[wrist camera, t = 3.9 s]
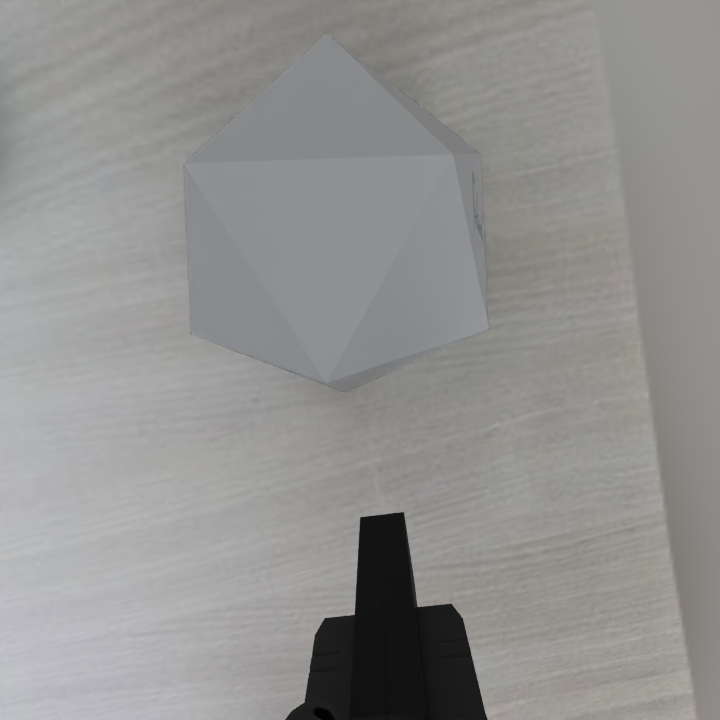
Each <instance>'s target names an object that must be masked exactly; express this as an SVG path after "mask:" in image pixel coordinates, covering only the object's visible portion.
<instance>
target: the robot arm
mask: <svg viewBox="0 0 720 720" xmlns="http://www.w3.org/2000/svg"><path fill="white" fill-rule="evenodd" d="M285 720H487V717H486V714H485V710H484V706H483V702H482V697H481V693H480V689H479V685H478V681H477V677H476V672H475V668H474V664H473V660H472V656H471V651H470V647H469V643H468V639H467V635H466V630H465V626H464V622H463V618H462V617H461V616H460V614H459V613H458V612H457V611H456V609H455V608H454V607H453V605H452V604H445V605H435V606H425V607H417V600H416V592H415V583H414V576H413V569H412V563H411V556H410V550H409V543H408V537H407V530H406V523H405V517H404V512H401V513H393V514H385V515H376V516H368V517H360V532H359V550H358V568H357V586H356V604H355V615H351V616H342V617H332V618H325V619H324V621H323V622H322V624H321V626H320V628H319V629H318V631H317V633H316V634H315V639H314V646H313V652H312V659H311V665H310V673H309V678H308V684H307V691H306V697H305V703H303V704H302V705H300V706H299V707H297V708H296V709H294V710H293V711H292V712H291V713H290V714H289V715H288V717H287V718H286V719H285Z"/></svg>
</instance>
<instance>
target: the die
mask: <svg viewBox="0 0 720 720" xmlns="http://www.w3.org/2000/svg"><path fill="white" fill-rule="evenodd" d="M184 182H185V207H186V232H187V256H188V281H189V305H190V330H191V334H192V335H195V336H197V337H200V338H203V339H205V340H208V341H210V342H213V343H216V344H218V345H221V346H224V347H226V348H229V349H231V350H234V351H237V352H239V353H242V354H245V355H247V356H250V357H253V358H255V359H258V360H260V361H263V362H266V363H268V364H271V365H274V366H276V367H279V368H281V369H284V370H287V371H289V372H292V373H295V374H297V375H300V376H303V377H305V378H308V379H310V380H313V381H316V382H318V383H321V384H324V385H326V386H329V387H331V388H334V389H337V390H339V391H342V392H347V391H350V390H352V389H354V388H356V387H359V386H361V385H363V384H365V383H368V382H370V381H372V380H375V379H377V378H379V377H381V376H384V375H386V374H388V373H390V372H393V371H395V370H397V369H400V368H402V367H404V366H406V365H409V364H411V363H413V362H415V361H418V360H420V359H422V358H424V357H427V356H429V355H431V354H434V353H436V352H438V351H440V350H443V349H445V348H447V347H449V346H452V345H454V344H456V343H458V342H461V341H463V340H465V339H468V338H470V337H472V336H474V335H477V334H479V333H481V332H483V331H486V330H488V329H489V328H488V305H487V282H486V259H485V236H484V212H483V189H482V166H481V153H480V152H478V151H477V150H476V149H474V148H473V147H472V146H471V145H469V144H468V143H467V142H466V141H464V140H463V139H462V138H460V137H459V136H458V135H457V134H455V133H454V132H453V131H451V130H450V129H449V128H448V127H446V126H445V125H444V124H443V123H441V122H440V121H439V120H437V119H436V118H435V117H434V116H432V115H431V114H430V113H428V112H427V111H426V110H425V109H423V108H422V107H421V106H420V105H418V104H417V103H416V102H414V101H413V100H412V99H411V98H409V97H408V96H407V95H405V94H404V93H403V92H402V91H400V90H399V89H398V88H396V87H395V86H394V85H393V84H391V83H390V82H389V81H388V80H386V79H385V78H384V77H382V76H381V75H380V74H379V73H377V72H376V71H375V70H373V69H372V68H371V67H370V66H368V65H367V64H366V63H365V62H363V61H362V60H361V59H359V58H358V57H357V56H356V55H354V54H353V53H352V52H350V51H349V50H348V49H347V48H345V47H344V46H343V45H341V44H340V43H339V42H338V41H336V40H335V39H334V38H333V37H331V36H330V35H329V34H327V33H326V34H325V35H324V36H323V37H322V38H321V39H319V40H318V41H317V42H316V43H315V44H314V45H313V46H312V47H311V48H310V49H308V50H307V51H306V52H305V53H304V54H303V55H302V56H301V57H300V58H299V59H297V60H296V61H295V62H294V63H293V64H292V65H291V66H290V67H289V68H288V69H287V70H285V71H284V72H283V73H282V74H281V75H280V76H279V77H278V78H277V79H276V80H274V81H273V82H272V83H271V84H270V85H269V86H268V87H267V88H266V89H265V90H263V91H262V92H261V93H260V94H259V95H258V96H257V97H256V98H255V99H254V100H253V101H251V102H250V103H249V104H248V105H247V106H246V107H245V108H244V109H243V110H242V111H240V112H239V113H238V114H237V115H236V116H235V117H234V118H233V119H232V120H231V121H229V122H228V123H227V124H226V125H225V126H224V127H223V128H222V129H221V130H220V131H219V132H217V133H216V134H215V135H214V136H213V137H212V138H211V139H210V140H209V141H208V142H206V143H205V144H204V145H203V146H202V147H201V148H200V149H199V150H198V151H197V152H195V153H194V154H193V155H192V156H191V157H190V158H189V159H188V160H187V161H186V162H185V163H184Z"/></svg>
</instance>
